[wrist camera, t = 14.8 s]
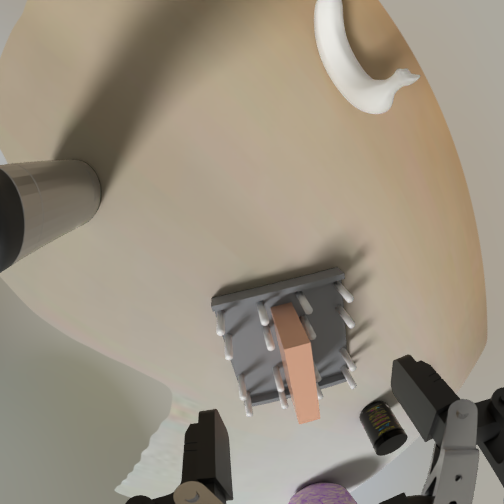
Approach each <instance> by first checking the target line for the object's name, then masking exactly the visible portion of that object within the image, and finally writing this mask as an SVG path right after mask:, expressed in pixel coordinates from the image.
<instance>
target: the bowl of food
mask: <svg viewBox="0 0 504 504" xmlns="http://www.w3.org/2000/svg"><path fill="white" fill-rule="evenodd" d="M289 504H357V502H356V501H355V500H354V499H353V497H352V496H351V495H350V493H349V492H348V491H347V490H346V489H345V488H344V487H342V486H341V485H339V484H335V483H315V484H312V485H309V486H306V487H305V488H303V489H302V490H301V491H299V492H297V493H296V494H295V495H294V496H292V498H291V499H290V501H289Z"/></svg>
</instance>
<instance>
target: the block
mask: <svg viewBox="0 0 504 504" xmlns="http://www.w3.org/2000/svg"><path fill="white" fill-rule="evenodd" d="M270 309H271V313H272V318H273V322H274V327H275V331H276V336H277V341H278V345H279V350H280V354H281V359H282V364H283V368H284V373H285V377H286V381H287V385H288V388H289V392H290V395H291V398H292V402H293V405H294V409H295V412H296V415H297V419H298V422H299V424H302V423H306V422H310V421H313V420H317V419H320V412H319V403H318V395H317V387H316V379H315V371H314V363H313V356H312V349H311V342H310V340H309V338H308V336H307V334H306V332H305V330H304V328H303V325H302V323H301V321H300V319H299V317H298V315H297V313H296V311H295V309H294V307H293V304H292V302H290V303H286V304H282V305H278V306H274V307H270Z"/></svg>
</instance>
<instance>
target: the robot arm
mask: <svg viewBox="0 0 504 504" xmlns="http://www.w3.org/2000/svg"><path fill="white" fill-rule="evenodd" d="M100 199H101V188H100V183H99V180H98V177H97V175H96V173H95V172H94V170H93V169H92V168H91V167H90V166H89V165H88V164H86V163H85V162H82V161H80V160H52V161H37V162H25V163H14V164H6V165H0V273H1V272H2V271H4V270H5V269H7V268H8V267H10V266H11V265H13V264H14V263H16V262H18V261H19V260H21V259H23V258H24V257H26V256H28V255H29V254H31V253H32V252H34V251H36V250H38V249H39V248H41V247H43V246H45V245H46V244H48V243H50V242H52V241H54V240H55V239H57V238H59V237H61V236H63V235H65V234H67V233H68V232H71V231H72V230H74V229H76V228H78V227H80V226H82V225H84V224H85V223H87V222H89V221H90V220H91V219H92V218H93V216H94V215H95V213H96V212H97V209H98V207H99V204H100ZM391 388H392V391H393V394H394V395H395V397H396V398H397V400H398V401H399V403H400V404H401V406H402V407H403V409H404V410H405V412H406V413H407V415H408V416H409V418H410V419H411V421H412V422H413V424H414V425H415V427H416V429H417V430H418V432H419V433H420V435H421V436H422V438H423V439H424V441H425V442H427V441H428V440H430V439H432V438H433V439H434V441H435V445H434V450H433V454H432V459H431V464H430V468H429V472H428V476H427V479H426V482H425V484H424V487H423V490H422V493H421V495H415V496H407V497H406V495H405V493H402V494H399V495H397V496H395V497H393V498H390V499H388V500H386V501H383V502H381V503H379V504H472V500H473V495H474V490H475V484H476V477H477V470H478V462H479V450H478V449H476V445H478V446H479V448H480V449H481V450H482V452H483V454H484V455H485V457H486V459H487V460H488V462H489V463H490V465H491V467H492V468H493V470H494V472H495V473H496V475H497V477H498V478H499V480H500V482H501V484H502V485H503V487H504V388H500V389H497V390H496V391H495V392H494V393H493V395H492V397H491V399H488V400H484V401H481V402H478V403H473V402H471V401H470V400H467V399H460V398H459V397H458V396H457V395H456V394H455V393H454V391H453V390H452V389H451V388H450V387H449V386H448V385H447V383H446V382H445V381H444V380H443V379H441V377H440V376H439V374H438V373H436V371H435V370H434V369H433V368H432V367H431V365H429V364H427V363H425V362H423V361H419V362H416V361H415V360H414V359H413V357H412V356H411V355H405V356H403V357H401V358H398V359H396V360H394V361H393V367H392V377H391ZM184 443H185V445H184V454H183V468H182V481H181V484H180V485H179V486H178V487H177V488H176V490H175V491H174V492H173V493H171V494H169V495H166V496H163V497H159V498H156V499H152V500H151V499H150V498H149V497H146V496H142V495H139V496H134V497H132V498H130V499H129V500H128V501H127V502H126V504H226V501H227V500H233V491H232V478H231V463H230V447H229V437H228V432H227V429H226V427H225V425H224V423H223V421H222V419H221V417H220V415H219V412H218V410H217V409H213V410H206V411H200V412H199V420H198V423H195V424H190V426H189V427H188V429H187V431H186V433H185V441H184ZM503 501H504V500H503Z"/></svg>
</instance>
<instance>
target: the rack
mask: <svg viewBox="0 0 504 504" xmlns="http://www.w3.org/2000/svg"><path fill="white" fill-rule="evenodd" d="M342 279H345V277H344V273H343V272H342V271H341V270H340V269H339V268H338V267H336V268H332V269H328V270H325V271H321V272H317V273H313V274H309V275H305V276H301V277H297V278H294V279H290V280H286V281H282V282H278V283H273V284H269V285H265V286H261V287H257V288H253V289H249V290H244V291H240V292H236V293H232V294H227V295H223V296H219V297H214V298H212V302H211V307H212V311H213V312H214V311H215V314H216V317H217V334H218V335H220V336H223V339H224V342H225V358H226V359H227V360H231V363H232V366H233V369H234V372H235V374H236V377H237V380H238V383H239V393H240V399H241V400H244V402H245V408H246V415H247V416H248V417H250V416H252V415H253V412H252V406H257V405H262V404H266V403H271V402H275V401H279V400H280V402H281V406H282V408H283V409H286V408H288V403H287V398H291V395H290V392H289V388H288V385H287V381H286V377H285V373H284V368H283V364H282V359H281V354H280V350H279V345H278V341H277V336H276V331H275V327H274V322H273V318H272V313H271V309H270V307H274V306H278V305H282V304H286V303H290V302H292V304H293V307H294V309H295V311H296V313H297V315H298V317H299V319H300V321H301V323H302V325H303V328H304V330H305V332H306V334H307V336H308V338H309V340H310V342H311V349H312V356H313V363H314V371H315V379H316V387H317V395H318V399H322V398H323V394H322V392H321V390H320V389H324V388H327V387H330V386H333V385H337V384H340V383H343V382H346V381H347V382H348V384H349V386H350V387H351V389H354V388H355V387H356V386H357V385H356V383H355V381H354V380H353V378H352V376H351V374H350V373H349V371H348V369H347V365H348V367H349V369H350V370H351V371H354V370H356V368H357V367H356V365H355V364H354V362H353V360H352V359H351V357H350V356H349V354H348V352H347V348H346V331H345V323H346V324H347V326H348V327H349V328H353V327H354V326H355V322H354V321H353V320H352V318H351V317H350V316H349V315H348V313H347V312H346V311H345V309H344V304H343V297H344V299H345V300H346V301H347V302H348V303H351V302H352V301H353V300H354V297H353V296H352V295H351V294H350V293H349V291H348V290H347V289H346V288H345V287H344V286H343V285H342V283H341V280H342Z"/></svg>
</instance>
